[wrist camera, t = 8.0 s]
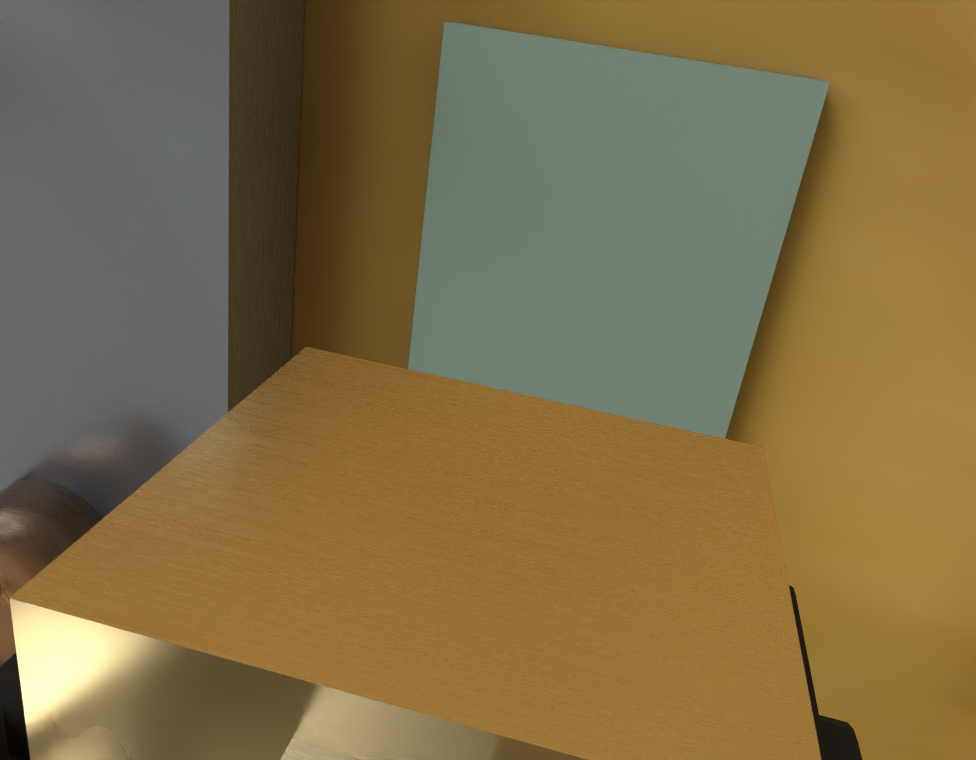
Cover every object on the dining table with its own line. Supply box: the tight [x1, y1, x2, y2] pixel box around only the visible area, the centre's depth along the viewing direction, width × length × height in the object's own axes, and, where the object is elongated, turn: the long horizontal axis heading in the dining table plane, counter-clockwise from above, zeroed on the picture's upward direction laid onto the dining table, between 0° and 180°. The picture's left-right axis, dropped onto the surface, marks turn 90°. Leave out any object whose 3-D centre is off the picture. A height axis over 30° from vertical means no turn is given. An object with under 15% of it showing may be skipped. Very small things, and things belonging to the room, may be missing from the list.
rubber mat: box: [408, 22, 830, 439], centre depth 20 cm, size 12×8×1 cm, turn 172°
